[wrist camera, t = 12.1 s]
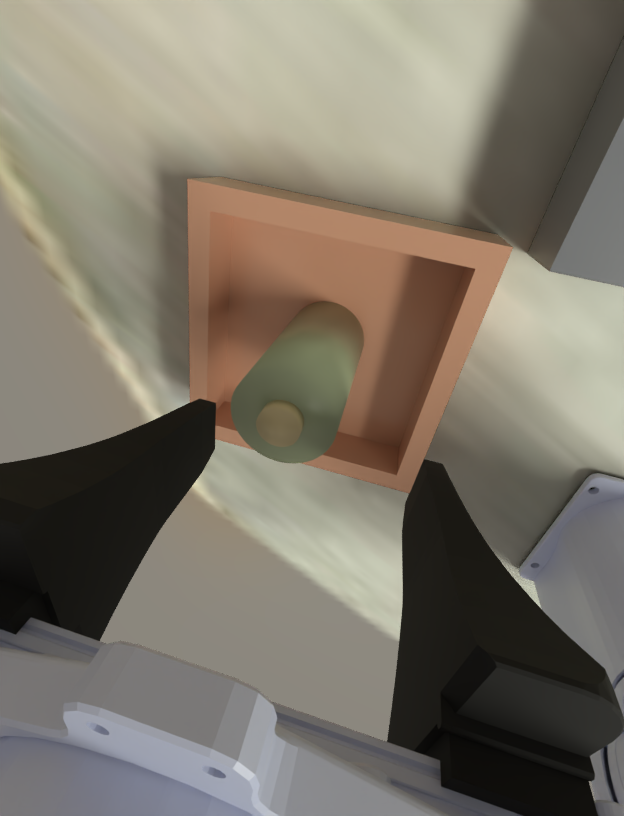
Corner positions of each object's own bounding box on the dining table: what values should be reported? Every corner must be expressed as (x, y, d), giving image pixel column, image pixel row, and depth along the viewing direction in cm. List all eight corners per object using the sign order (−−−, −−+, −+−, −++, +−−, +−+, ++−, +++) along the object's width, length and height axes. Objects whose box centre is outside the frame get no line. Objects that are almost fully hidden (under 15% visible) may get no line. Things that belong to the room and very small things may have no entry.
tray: (410, 456, 24) (409, 493, 22) (214, 403, 26) (190, 432, 23) (498, 234, 17) (513, 247, 15) (221, 176, 19) (187, 178, 16)
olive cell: (354, 381, 22) (322, 485, 15) (285, 362, 22) (221, 455, 15) (372, 312, 20) (346, 394, 12) (295, 293, 20) (226, 362, 13)
